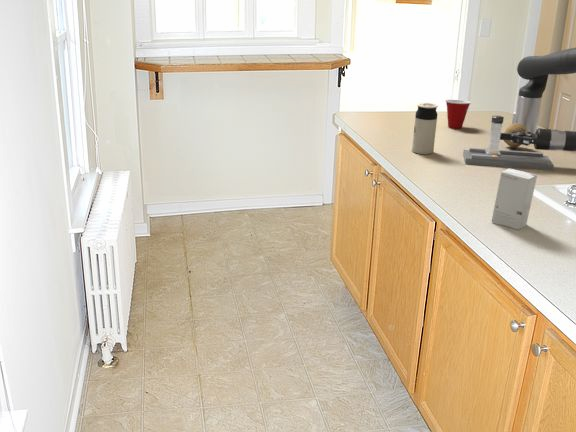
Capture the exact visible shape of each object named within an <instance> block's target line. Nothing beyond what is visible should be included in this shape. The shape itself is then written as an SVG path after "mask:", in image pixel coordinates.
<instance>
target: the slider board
mask: <svg viewBox="0 0 576 432" xmlns="http://www.w3.org/2000/svg"><path fill="white" fill-rule="evenodd" d="M485 149H486V150H488V148H481V147H480V148H479V147H469V149H463V152H462V155H463V156H462V157H463V161H464V163H465V165H473V166H474V165H476V166H487V167H488V166H489V167H491V166H492V167H501V168H502V167H503V168H513V169H516V168H517V169H529V170H540V171H541V170H543V171H553V169H554V163H553V162H552V161H551V159H550V158H549V156H548V155H544V153H543V152H539V151H538V152H537V151H535V152H534V151H524V150H523V151H522V150H521V151H520V150H511V149H510V150H509V149H508V150H507V149H498V150H499V152H500V154H501V156H497V155H485V153H484V152H485Z"/></svg>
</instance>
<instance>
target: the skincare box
mask: <svg viewBox="0 0 576 432" xmlns="http://www.w3.org/2000/svg"><path fill="white" fill-rule="evenodd" d="M537 177H538V175H537V174H532V173H530V172H526V171H522V170H518V169H515V168H511V167H508V168H506V169H504V170H503V171H501V172H500V176H499V183H498V187H497V192H496V196H495V201H494V207H493V212H492V216H491V223H493V224H497V225H501V226H504V227H509V228H512V229H514V230H520V229H522V228H524V227H525V226H526V225H527V223H528V219H529V215H530V209H531V205H532V202H533V201H532V200H533V197H534V192H535V187H536V183H537Z"/></svg>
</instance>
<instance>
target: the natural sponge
mask: <svg viewBox="0 0 576 432" xmlns="http://www.w3.org/2000/svg"><path fill="white" fill-rule="evenodd" d="M515 131H525V132H527V129H526V128H525V126H523V125H522V124H519V123H514V124H512V123H511V124H510V125H508V127H507V128H506V129H505V130H504V132H503V133H510V134H511V133H512V132H515ZM503 143H505V144H506V145H508V146H509V147H510V148H512V149H516V148H519V147H520V146H522V144H517V143H513V142H512V141H510V140H503Z"/></svg>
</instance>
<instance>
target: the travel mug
mask: <svg viewBox="0 0 576 432" xmlns="http://www.w3.org/2000/svg"><path fill="white" fill-rule="evenodd" d="M438 106H439V105H438V104H437V103H430V102H419V103H417V110H416V111H415V116H414V117H415V118H414V126H413V127H414V129H413V134H412V135H413V138H412V144H411V145H412V147H411V151H412V152H413V153H415V154H418V155H430V154H433V153H434V148H435V141H436V140H435V138H436V131H437V124H438V123H437V122H438V112H437V109H438Z"/></svg>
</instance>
